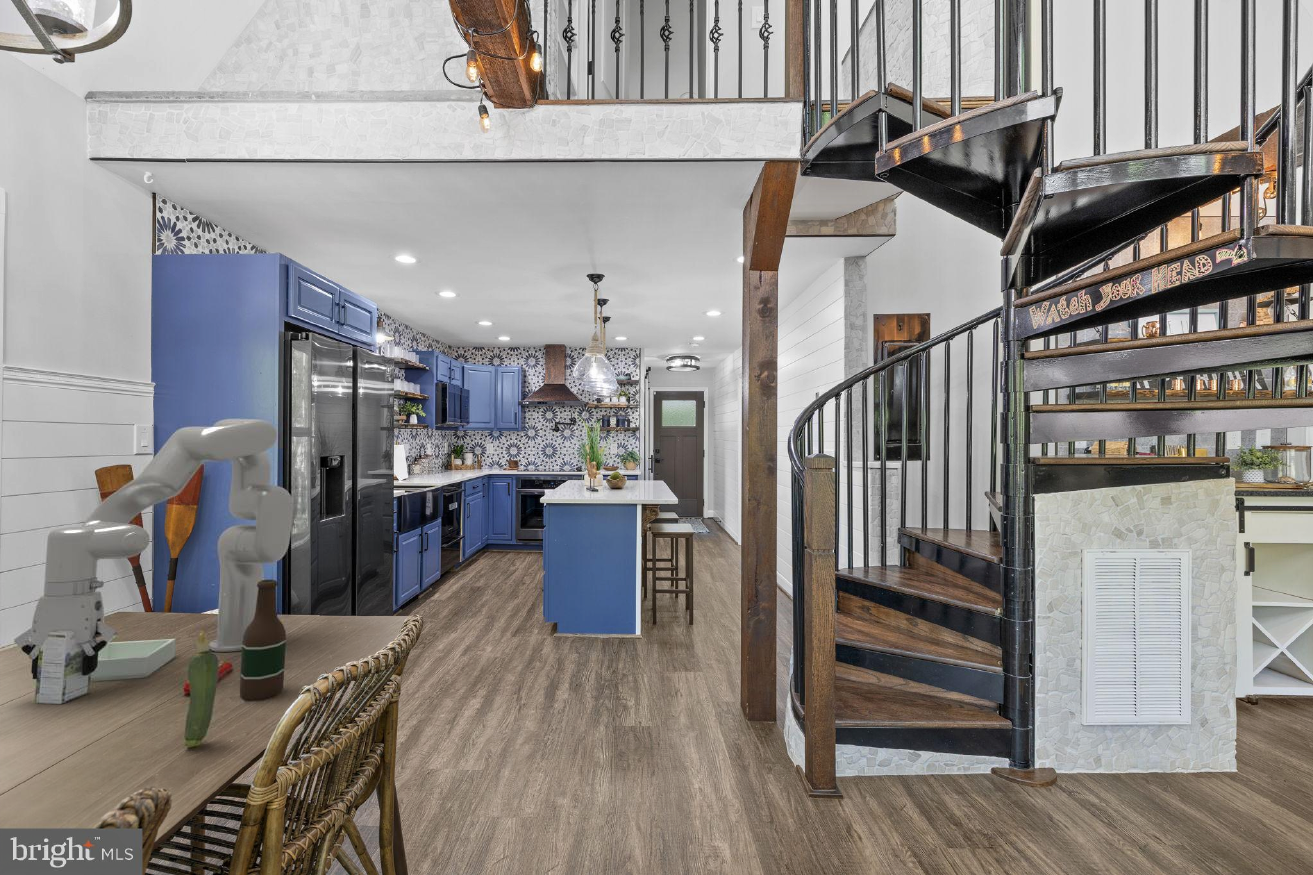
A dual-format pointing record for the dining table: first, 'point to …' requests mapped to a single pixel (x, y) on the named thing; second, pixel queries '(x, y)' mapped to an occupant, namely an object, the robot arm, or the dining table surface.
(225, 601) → the robot arm
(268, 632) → the beer bottle
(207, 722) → the vegetable
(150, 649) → the bin
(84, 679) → the syrup box
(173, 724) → the dining table surface
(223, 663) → the candy bar
